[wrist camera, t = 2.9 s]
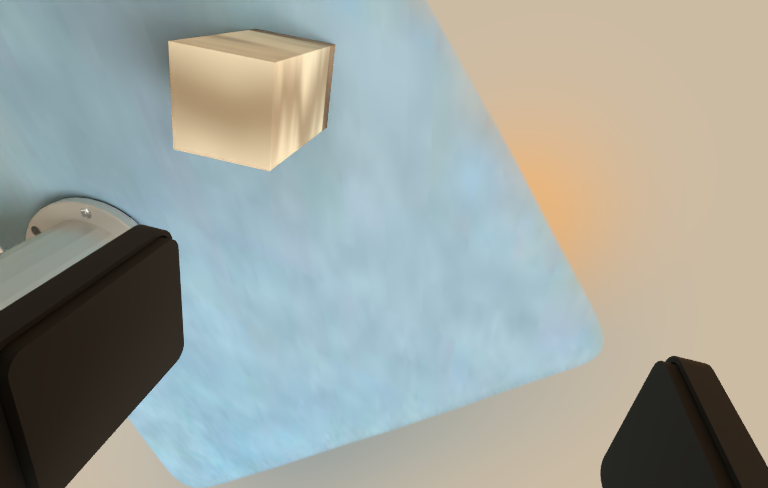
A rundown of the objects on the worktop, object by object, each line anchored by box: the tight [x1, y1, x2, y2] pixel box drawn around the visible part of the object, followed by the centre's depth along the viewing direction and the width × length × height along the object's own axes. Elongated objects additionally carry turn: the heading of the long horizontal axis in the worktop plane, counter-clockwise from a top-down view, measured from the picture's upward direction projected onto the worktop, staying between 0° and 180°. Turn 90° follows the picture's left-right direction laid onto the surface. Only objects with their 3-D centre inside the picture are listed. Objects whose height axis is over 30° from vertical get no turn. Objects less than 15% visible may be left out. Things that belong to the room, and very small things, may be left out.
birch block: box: [168, 29, 335, 171], centre depth 27 cm, size 5×5×9 cm
